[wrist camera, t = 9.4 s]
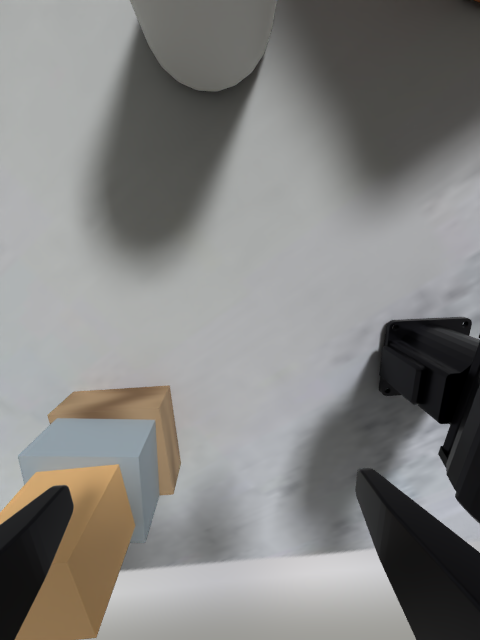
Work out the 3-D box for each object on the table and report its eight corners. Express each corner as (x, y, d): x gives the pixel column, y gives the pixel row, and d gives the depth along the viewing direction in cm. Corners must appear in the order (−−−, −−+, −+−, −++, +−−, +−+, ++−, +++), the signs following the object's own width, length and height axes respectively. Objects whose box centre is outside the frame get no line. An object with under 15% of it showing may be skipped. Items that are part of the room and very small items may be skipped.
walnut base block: (170, 383, 22) (159, 407, 18) (181, 459, 24) (173, 494, 21) (76, 389, 22) (47, 415, 18) (95, 465, 24) (73, 501, 20)
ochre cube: (118, 464, 15) (67, 562, 11) (135, 525, 17) (96, 637, 12) (35, 472, 15) (-54, 573, 11) (59, 533, 17) (-11, 648, 12)
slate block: (155, 419, 19) (138, 457, 15) (159, 494, 21) (145, 542, 17) (57, 418, 18) (17, 456, 15) (70, 494, 20) (38, 543, 17)
